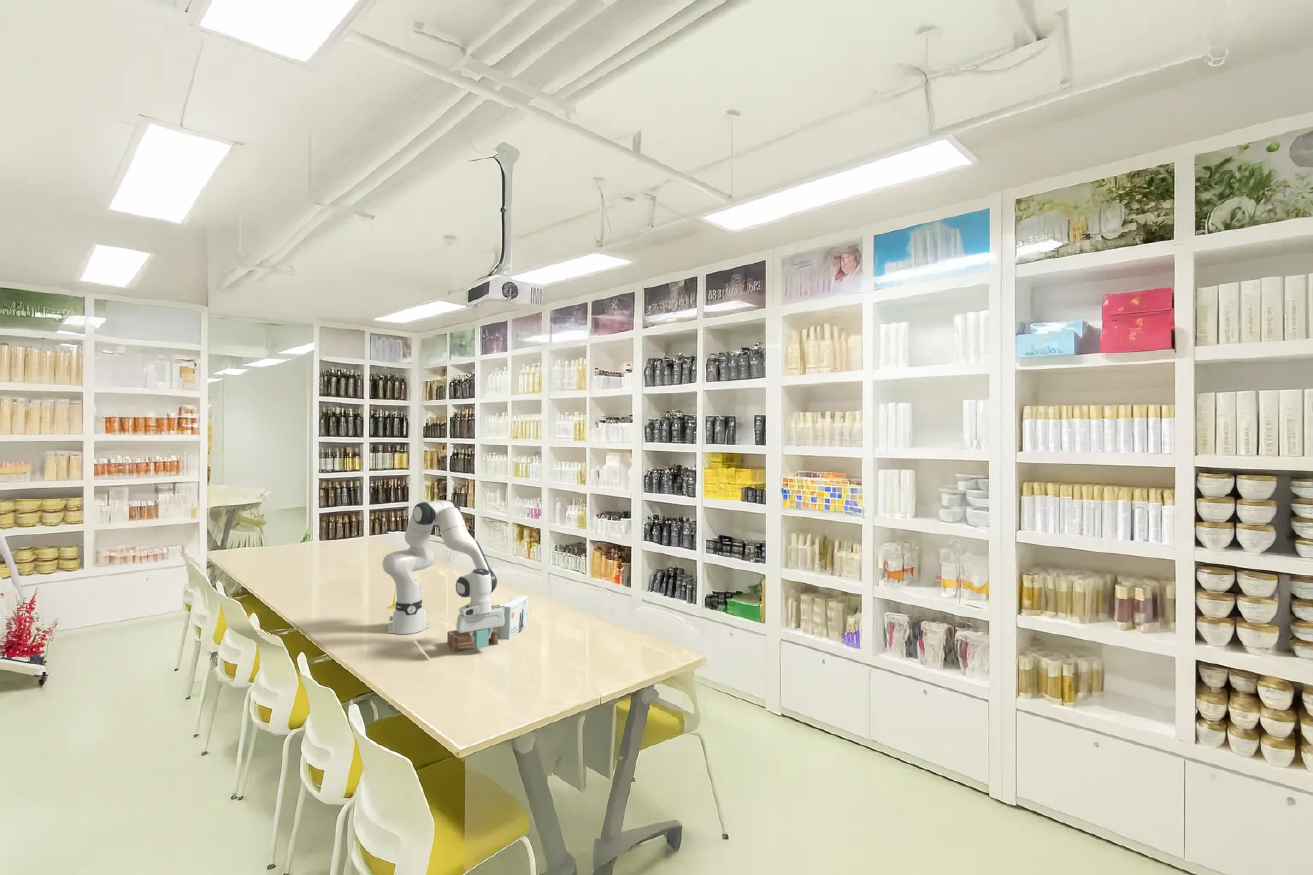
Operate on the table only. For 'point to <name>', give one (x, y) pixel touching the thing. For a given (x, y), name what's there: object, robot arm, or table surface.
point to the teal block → (481, 638)
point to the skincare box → (514, 617)
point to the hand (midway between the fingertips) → (480, 639)
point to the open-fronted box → (466, 640)
